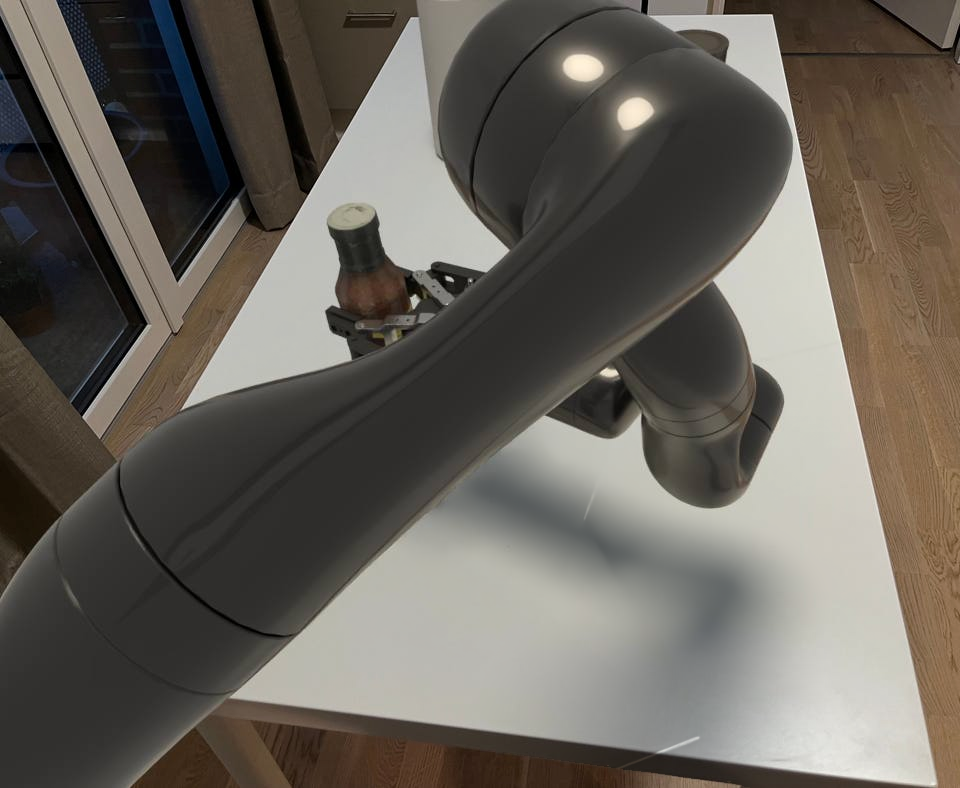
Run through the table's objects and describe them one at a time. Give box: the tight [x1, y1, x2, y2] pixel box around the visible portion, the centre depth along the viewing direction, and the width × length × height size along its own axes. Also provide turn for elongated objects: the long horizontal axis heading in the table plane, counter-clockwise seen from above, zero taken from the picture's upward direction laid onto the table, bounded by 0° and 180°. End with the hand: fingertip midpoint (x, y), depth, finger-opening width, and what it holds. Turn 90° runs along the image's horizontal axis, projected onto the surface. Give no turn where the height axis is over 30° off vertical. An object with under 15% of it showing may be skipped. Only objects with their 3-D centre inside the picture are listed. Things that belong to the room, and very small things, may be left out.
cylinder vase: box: [415, 0, 504, 160], centre depth 121 cm, size 12×12×25 cm
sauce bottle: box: [326, 202, 414, 339], centre depth 70 cm, size 7×6×20 cm
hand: (355, 294), depth 70 cm, fingers closed on sauce bottle, 6 cm apart
